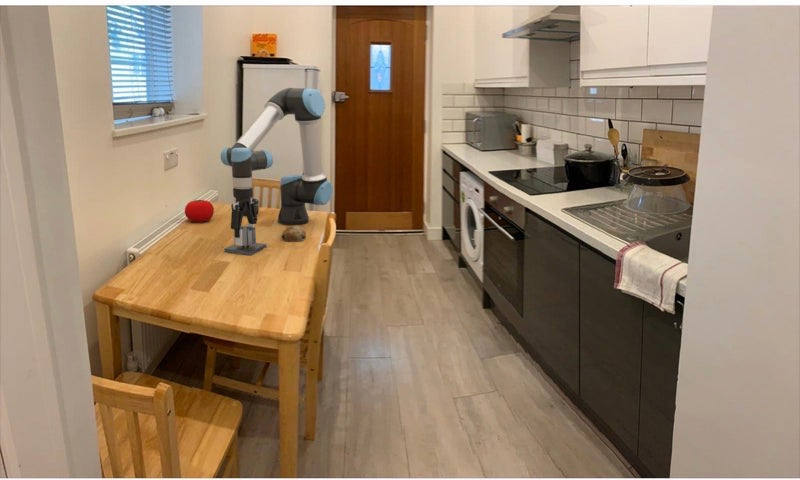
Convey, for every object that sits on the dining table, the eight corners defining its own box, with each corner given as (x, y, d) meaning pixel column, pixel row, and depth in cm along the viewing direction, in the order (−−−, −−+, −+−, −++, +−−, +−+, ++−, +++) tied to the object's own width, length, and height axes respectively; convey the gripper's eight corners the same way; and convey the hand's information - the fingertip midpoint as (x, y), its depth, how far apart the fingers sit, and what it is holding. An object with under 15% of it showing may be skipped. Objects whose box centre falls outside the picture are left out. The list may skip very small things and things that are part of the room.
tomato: (202, 225, 258) (201, 204, 255) (179, 222, 261) (177, 201, 259) (220, 218, 271) (219, 198, 268) (198, 216, 275) (196, 196, 272)
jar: (235, 214, 282) (234, 199, 280) (251, 211, 289) (251, 197, 287) (246, 217, 276) (245, 202, 273) (263, 214, 283) (262, 200, 281)
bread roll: (296, 250, 236) (303, 235, 234) (276, 239, 237) (283, 223, 234) (304, 244, 246) (311, 229, 243) (285, 233, 246) (291, 218, 243)
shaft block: (241, 244, 230) (240, 225, 228) (266, 247, 227) (265, 228, 225) (224, 252, 219) (223, 232, 217) (250, 255, 216) (249, 235, 214)
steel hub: (241, 239, 227) (241, 225, 226) (259, 241, 225) (259, 227, 223) (230, 244, 219) (229, 229, 218) (248, 246, 217) (248, 232, 216)
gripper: (248, 182, 227) (251, 234, 233) (218, 191, 207) (222, 247, 213) (264, 183, 225) (266, 236, 231) (236, 192, 205) (238, 250, 211)
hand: (245, 242), depth 222 cm, fingers closed on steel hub, 8 cm apart
